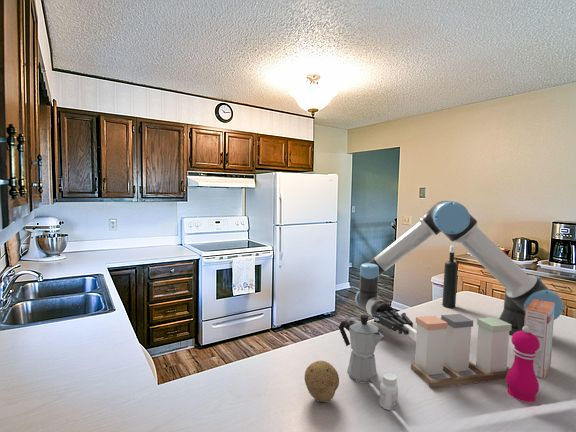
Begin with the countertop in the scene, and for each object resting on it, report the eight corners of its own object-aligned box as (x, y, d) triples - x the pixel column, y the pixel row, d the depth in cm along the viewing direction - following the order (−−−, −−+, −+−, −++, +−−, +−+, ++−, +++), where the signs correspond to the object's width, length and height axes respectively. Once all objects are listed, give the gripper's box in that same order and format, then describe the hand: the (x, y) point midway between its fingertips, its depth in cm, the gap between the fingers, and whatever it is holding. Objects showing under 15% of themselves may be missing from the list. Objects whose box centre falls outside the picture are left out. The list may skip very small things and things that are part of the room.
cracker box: (528, 359, 109) (533, 297, 108) (551, 366, 105) (556, 302, 104) (519, 374, 100) (524, 307, 98) (543, 383, 95) (549, 313, 94)
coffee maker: (388, 377, 96) (391, 317, 95) (374, 390, 90) (377, 326, 89) (345, 359, 106) (347, 304, 105) (329, 369, 100) (331, 311, 99)
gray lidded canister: (438, 363, 103) (441, 315, 101) (456, 361, 104) (459, 313, 103) (451, 373, 97) (454, 322, 96) (470, 370, 99) (473, 320, 98)
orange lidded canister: (413, 366, 100) (415, 317, 99) (431, 364, 102) (434, 315, 101) (424, 376, 95) (427, 324, 94) (444, 373, 97) (447, 322, 95)
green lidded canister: (474, 368, 100) (477, 318, 99) (491, 365, 102) (495, 317, 101) (489, 378, 95) (492, 326, 94) (507, 375, 96) (511, 324, 95)
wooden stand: (401, 369, 101) (401, 359, 101) (484, 359, 108) (485, 350, 108) (428, 394, 88) (429, 384, 88) (521, 382, 96) (522, 372, 95)
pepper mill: (526, 392, 91) (532, 321, 89) (544, 409, 84) (550, 333, 82) (499, 389, 91) (504, 320, 90) (514, 406, 84) (520, 331, 83)
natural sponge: (317, 384, 92) (318, 350, 91) (345, 397, 86) (346, 361, 85) (297, 399, 85) (298, 362, 84) (326, 415, 79) (327, 375, 78)
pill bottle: (397, 402, 85) (398, 373, 84) (397, 412, 81) (398, 382, 80) (379, 398, 86) (381, 370, 86) (378, 408, 82) (380, 378, 82)
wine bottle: (453, 304, 162) (457, 244, 160) (456, 308, 156) (460, 246, 154) (441, 303, 163) (444, 244, 161) (443, 307, 158) (447, 245, 156)
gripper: (394, 318, 128) (434, 346, 105) (363, 320, 125) (398, 349, 102) (395, 299, 128) (435, 323, 105) (364, 301, 125) (399, 326, 102)
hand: (416, 336), depth 104 cm, fingers closed
